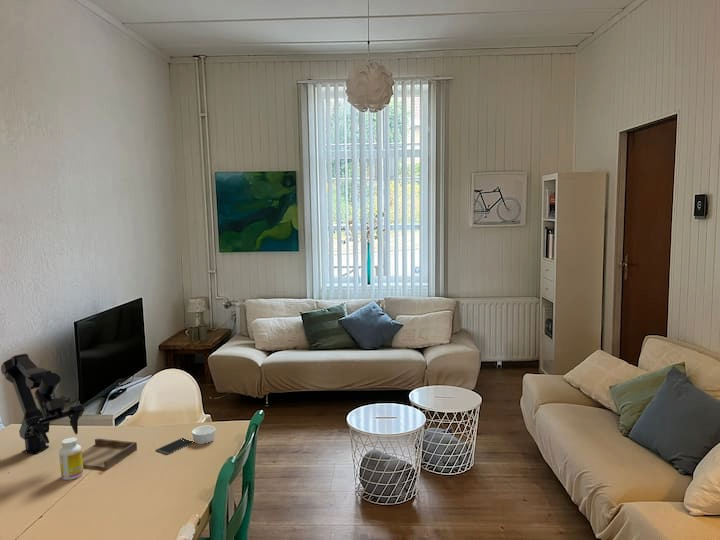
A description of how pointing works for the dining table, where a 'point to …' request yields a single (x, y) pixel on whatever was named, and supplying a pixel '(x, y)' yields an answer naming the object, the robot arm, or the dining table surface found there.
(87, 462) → the dock board
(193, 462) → the dining table surface
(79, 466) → the supplement bottle
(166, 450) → the cell phone
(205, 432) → the ramekin
